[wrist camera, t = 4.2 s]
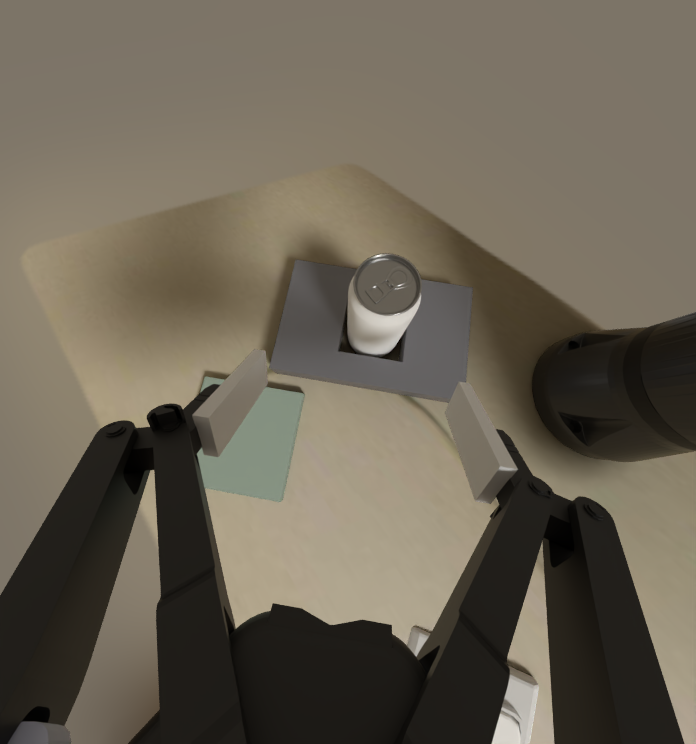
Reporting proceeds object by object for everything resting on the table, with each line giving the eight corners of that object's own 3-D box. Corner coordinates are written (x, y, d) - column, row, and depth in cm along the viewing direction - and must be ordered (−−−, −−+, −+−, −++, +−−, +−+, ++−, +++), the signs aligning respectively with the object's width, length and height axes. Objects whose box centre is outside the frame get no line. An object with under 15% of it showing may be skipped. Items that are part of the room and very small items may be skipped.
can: (407, 340, 32) (443, 291, 20) (367, 369, 31) (380, 336, 19) (376, 303, 33) (394, 235, 21) (337, 330, 32) (332, 275, 20)
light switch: (417, 648, 23) (563, 717, 21) (409, 615, 27) (530, 671, 25) (380, 796, 21) (539, 885, 19) (377, 736, 25) (507, 805, 23)
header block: (461, 299, 33) (472, 287, 30) (452, 403, 30) (464, 401, 27) (300, 273, 33) (295, 259, 31) (276, 373, 31) (269, 367, 28)
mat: (304, 394, 30) (303, 393, 29) (282, 499, 28) (280, 502, 27) (209, 377, 30) (205, 376, 29) (179, 480, 28) (173, 482, 27)
